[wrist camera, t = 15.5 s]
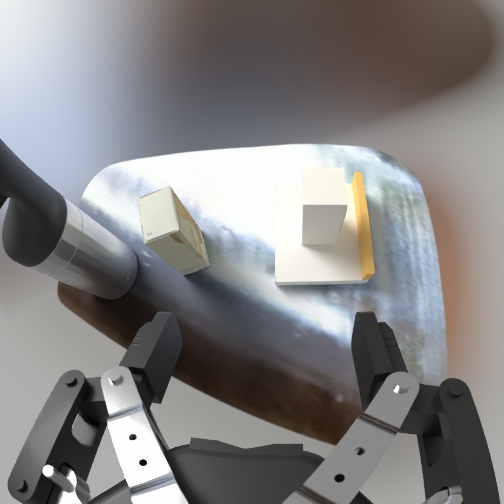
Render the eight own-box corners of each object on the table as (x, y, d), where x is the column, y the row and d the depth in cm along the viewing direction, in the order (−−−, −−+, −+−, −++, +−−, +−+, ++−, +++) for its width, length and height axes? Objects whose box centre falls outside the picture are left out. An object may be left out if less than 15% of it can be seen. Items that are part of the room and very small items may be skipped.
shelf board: (276, 285, 40) (273, 275, 35) (275, 192, 44) (273, 173, 39) (365, 283, 38) (375, 273, 33) (355, 190, 42) (361, 172, 38)
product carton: (301, 244, 39) (302, 204, 28) (301, 214, 40) (301, 167, 30) (337, 244, 38) (350, 205, 28) (335, 214, 40) (346, 167, 29)
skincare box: (211, 266, 42) (180, 232, 30) (182, 276, 42) (143, 246, 30) (200, 227, 44) (170, 183, 33) (173, 236, 44) (136, 197, 33)
